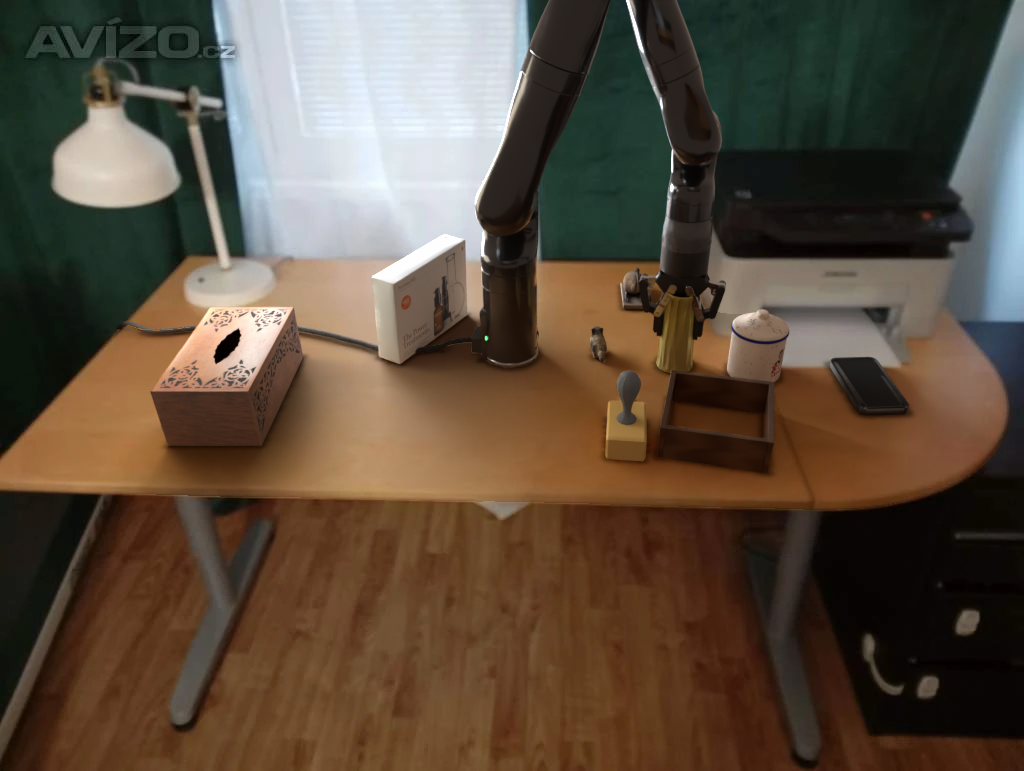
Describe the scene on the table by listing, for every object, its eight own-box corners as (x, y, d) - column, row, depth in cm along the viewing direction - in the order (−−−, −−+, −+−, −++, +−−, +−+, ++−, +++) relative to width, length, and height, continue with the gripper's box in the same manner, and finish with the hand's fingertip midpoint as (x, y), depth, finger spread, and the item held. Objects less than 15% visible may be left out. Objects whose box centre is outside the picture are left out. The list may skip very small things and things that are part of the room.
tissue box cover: (261, 446, 124) (248, 391, 118) (167, 445, 124) (150, 391, 119) (303, 356, 145) (293, 306, 140) (223, 356, 146) (210, 307, 140)
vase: (697, 361, 141) (707, 287, 133) (684, 378, 136) (692, 302, 128) (664, 352, 143) (671, 278, 136) (650, 368, 139) (656, 293, 131)
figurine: (648, 320, 153) (651, 278, 148) (624, 320, 153) (626, 278, 149) (642, 286, 165) (645, 246, 160) (620, 286, 165) (622, 246, 160)
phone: (861, 409, 126) (828, 357, 138) (859, 415, 126) (827, 363, 139) (912, 407, 126) (875, 356, 138) (910, 413, 126) (874, 362, 139)
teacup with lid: (782, 390, 133) (794, 327, 126) (724, 384, 135) (733, 322, 128) (779, 352, 142) (790, 292, 136) (725, 347, 144) (733, 288, 138)
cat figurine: (602, 340, 146) (604, 323, 144) (609, 371, 141) (611, 354, 138) (587, 341, 146) (588, 324, 143) (593, 372, 141) (595, 355, 138)
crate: (657, 457, 119) (659, 427, 116) (668, 398, 132) (671, 369, 129) (768, 473, 116) (774, 442, 113) (769, 411, 128) (774, 381, 125)
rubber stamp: (607, 418, 127) (610, 353, 121) (644, 421, 127) (650, 355, 120) (605, 458, 119) (608, 390, 113) (645, 461, 119) (651, 393, 112)
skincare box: (402, 366, 142) (392, 283, 133) (378, 358, 144) (367, 276, 135) (471, 315, 156) (466, 237, 148) (447, 308, 159) (441, 231, 150)
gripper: (734, 236, 129) (722, 329, 138) (643, 228, 132) (637, 320, 141) (732, 255, 123) (719, 352, 132) (636, 247, 126) (630, 342, 135)
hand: (677, 335), depth 137 cm, fingers closed on vase, 5 cm apart
